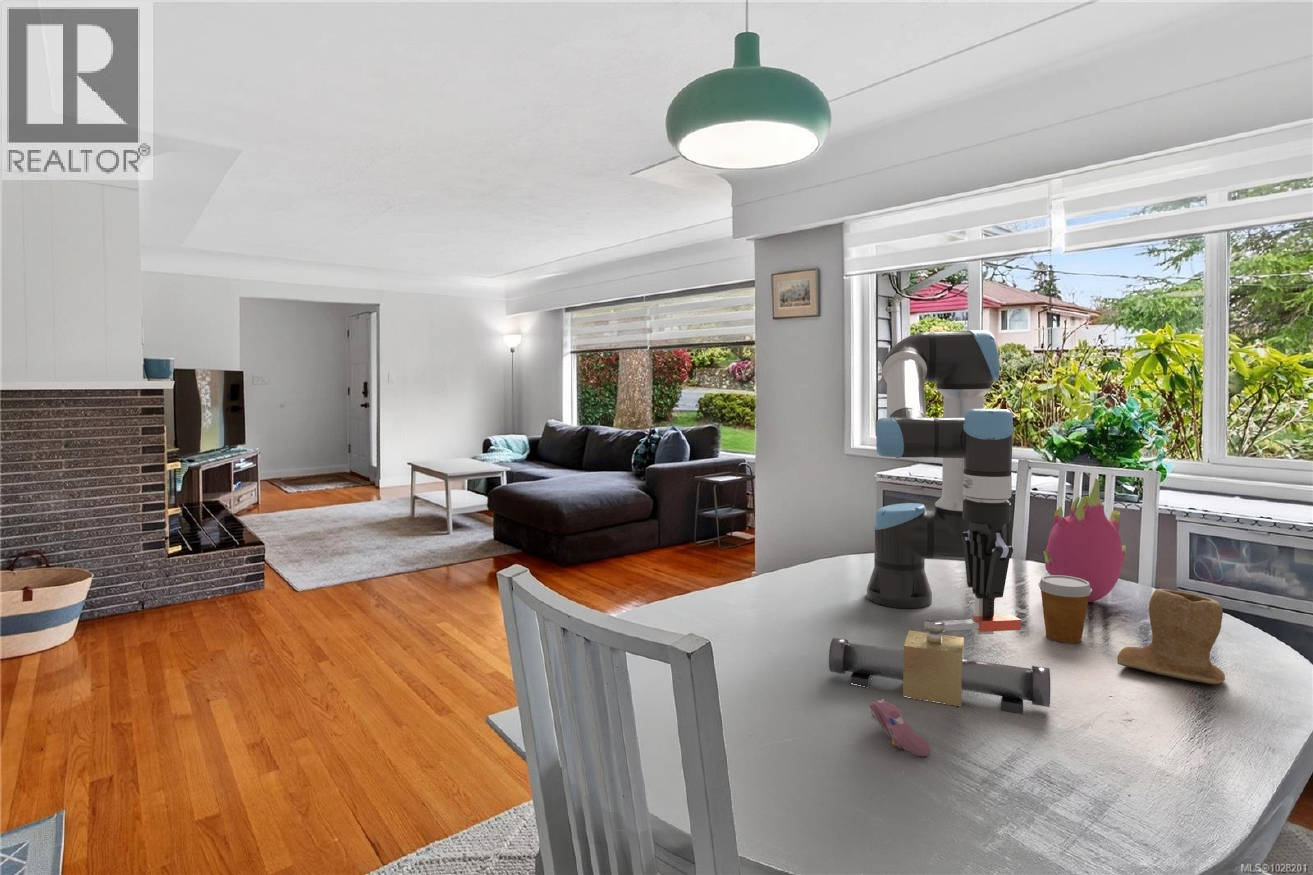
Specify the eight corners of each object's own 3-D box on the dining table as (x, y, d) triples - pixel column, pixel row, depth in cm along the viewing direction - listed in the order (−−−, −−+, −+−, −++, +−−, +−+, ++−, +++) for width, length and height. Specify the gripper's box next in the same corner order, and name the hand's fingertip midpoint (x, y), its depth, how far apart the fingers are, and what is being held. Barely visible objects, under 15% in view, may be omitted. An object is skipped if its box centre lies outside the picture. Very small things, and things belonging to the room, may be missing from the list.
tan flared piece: (1226, 672, 126) (1230, 591, 125) (1223, 695, 117) (1227, 607, 116) (1126, 652, 136) (1128, 577, 135) (1115, 672, 127) (1118, 591, 126)
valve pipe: (836, 668, 131) (837, 611, 130) (1046, 701, 116) (1048, 637, 115) (827, 684, 124) (827, 625, 123) (1050, 722, 109) (1051, 654, 108)
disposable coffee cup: (1098, 647, 139) (1100, 588, 138) (1046, 645, 140) (1047, 586, 140) (1079, 631, 148) (1081, 575, 147) (1030, 628, 150) (1032, 573, 149)
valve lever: (929, 634, 117) (929, 624, 117) (921, 628, 120) (921, 618, 120) (1021, 630, 119) (1021, 620, 118) (1010, 624, 122) (1010, 614, 122)
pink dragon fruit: (1109, 594, 173) (1113, 473, 170) (1137, 611, 159) (1141, 481, 157) (1032, 591, 176) (1034, 473, 174) (1052, 608, 162) (1055, 480, 160)
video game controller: (878, 736, 109) (859, 698, 108) (904, 721, 109) (884, 684, 108) (907, 771, 99) (886, 730, 98) (935, 755, 99) (914, 714, 98)
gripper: (947, 493, 126) (945, 621, 128) (985, 506, 113) (982, 647, 115) (987, 492, 127) (985, 619, 129) (1030, 504, 114) (1026, 646, 116)
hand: (983, 632), depth 122 cm, fingers closed
